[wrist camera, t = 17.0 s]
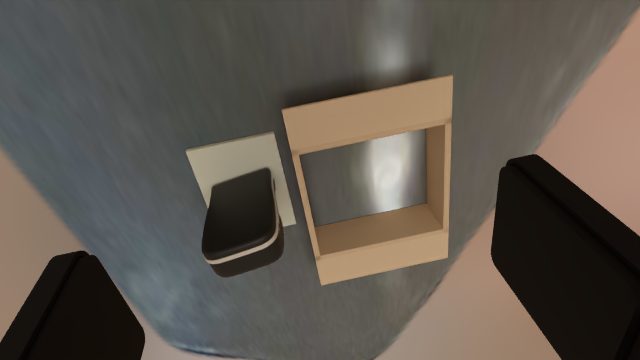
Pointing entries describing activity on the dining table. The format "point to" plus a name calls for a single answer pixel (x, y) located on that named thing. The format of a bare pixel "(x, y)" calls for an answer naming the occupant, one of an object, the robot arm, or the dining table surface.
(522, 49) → the dining table surface
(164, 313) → the dining table surface
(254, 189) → the battery charger
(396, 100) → the carton
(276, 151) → the mat
